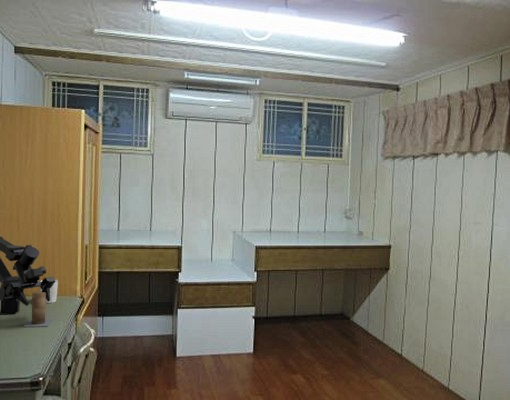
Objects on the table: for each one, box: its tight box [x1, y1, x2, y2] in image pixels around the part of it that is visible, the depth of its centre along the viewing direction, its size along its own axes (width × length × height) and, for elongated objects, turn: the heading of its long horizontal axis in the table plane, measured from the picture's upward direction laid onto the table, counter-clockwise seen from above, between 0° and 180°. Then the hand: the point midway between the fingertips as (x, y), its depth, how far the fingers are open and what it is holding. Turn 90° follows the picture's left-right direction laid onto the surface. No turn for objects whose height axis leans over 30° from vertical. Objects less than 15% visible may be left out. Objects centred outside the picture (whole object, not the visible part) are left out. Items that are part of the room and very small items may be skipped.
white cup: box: [39, 279, 59, 304], centre depth 222 cm, size 8×8×10 cm
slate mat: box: [23, 318, 54, 328], centre depth 189 cm, size 9×9×1 cm
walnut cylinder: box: [31, 291, 47, 324], centre depth 189 cm, size 5×5×12 cm
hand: (38, 302), depth 189 cm, fingers open, 9 cm apart
